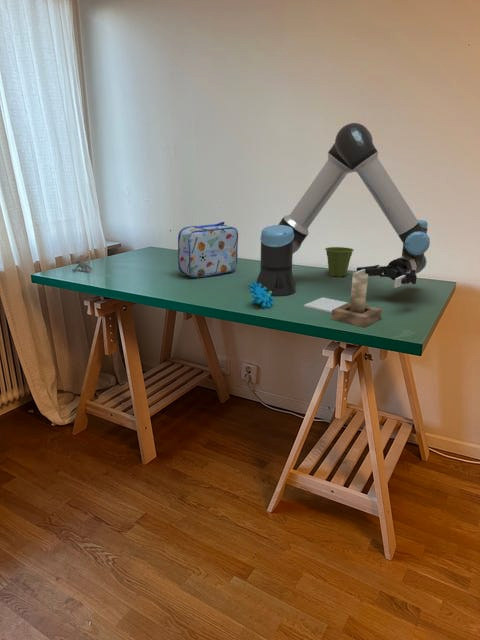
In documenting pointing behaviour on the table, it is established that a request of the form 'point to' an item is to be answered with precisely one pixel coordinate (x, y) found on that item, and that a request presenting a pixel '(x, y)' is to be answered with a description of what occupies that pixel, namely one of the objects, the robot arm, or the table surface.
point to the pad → (325, 304)
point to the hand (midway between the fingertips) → (374, 279)
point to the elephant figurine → (82, 264)
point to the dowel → (358, 292)
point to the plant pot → (338, 260)
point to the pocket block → (356, 315)
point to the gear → (261, 295)
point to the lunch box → (207, 250)
